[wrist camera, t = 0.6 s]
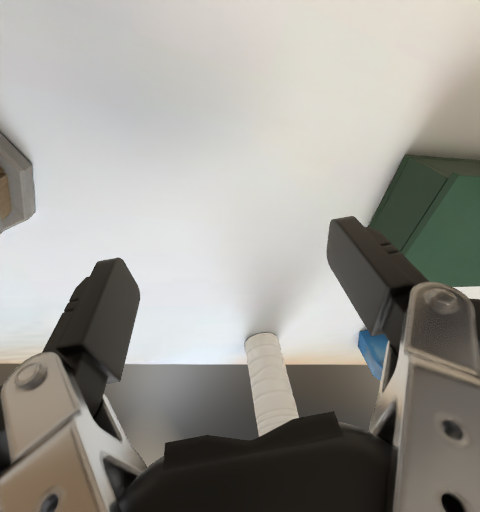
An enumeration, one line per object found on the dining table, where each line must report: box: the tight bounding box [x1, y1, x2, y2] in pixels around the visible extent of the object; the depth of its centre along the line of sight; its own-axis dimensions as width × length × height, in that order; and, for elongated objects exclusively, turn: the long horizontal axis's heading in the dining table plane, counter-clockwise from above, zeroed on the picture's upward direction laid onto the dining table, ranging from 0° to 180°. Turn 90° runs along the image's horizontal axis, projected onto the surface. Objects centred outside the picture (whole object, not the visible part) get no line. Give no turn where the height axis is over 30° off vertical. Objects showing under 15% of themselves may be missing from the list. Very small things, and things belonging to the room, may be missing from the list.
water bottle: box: [245, 333, 299, 437], centre depth 39 cm, size 9×6×25 cm
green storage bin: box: [369, 155, 480, 252], centre depth 31 cm, size 14×16×6 cm
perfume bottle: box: [358, 330, 388, 381], centre depth 48 cm, size 6×6×12 cm
